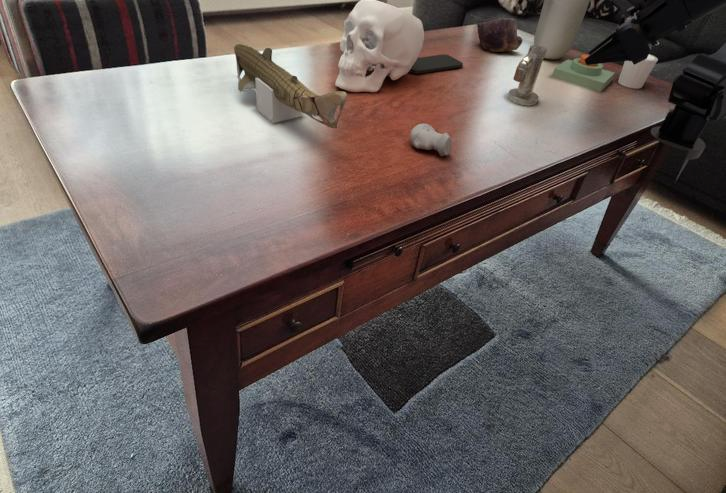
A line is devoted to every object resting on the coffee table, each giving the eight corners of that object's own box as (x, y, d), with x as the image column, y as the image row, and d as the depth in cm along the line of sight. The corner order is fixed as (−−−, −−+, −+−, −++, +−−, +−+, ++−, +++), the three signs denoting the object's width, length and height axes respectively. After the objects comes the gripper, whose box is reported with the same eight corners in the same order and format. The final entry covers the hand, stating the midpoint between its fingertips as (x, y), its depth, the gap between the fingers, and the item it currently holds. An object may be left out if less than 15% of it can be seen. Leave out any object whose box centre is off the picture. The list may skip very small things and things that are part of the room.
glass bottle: (544, 49, 134) (582, -69, 117) (574, 62, 128) (619, -61, 110) (521, 53, 130) (557, -69, 112) (551, 66, 124) (594, -61, 106)
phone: (397, 60, 114) (446, 53, 121) (396, 63, 115) (445, 57, 121) (415, 71, 109) (465, 64, 116) (414, 75, 110) (464, 67, 117)
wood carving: (317, 168, 75) (319, 100, 68) (220, 87, 95) (214, 27, 88) (362, 154, 80) (369, 89, 73) (261, 79, 100) (258, 23, 93)
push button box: (611, 81, 119) (618, 65, 116) (600, 92, 113) (607, 75, 110) (564, 67, 124) (570, 51, 121) (551, 77, 117) (557, 60, 115)
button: (597, 65, 116) (600, 57, 115) (593, 68, 114) (596, 61, 113) (581, 60, 118) (584, 53, 117) (576, 64, 115) (579, 56, 114)
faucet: (541, 100, 105) (555, 57, 100) (530, 108, 101) (544, 64, 95) (514, 91, 108) (526, 49, 102) (502, 98, 104) (515, 55, 98)
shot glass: (623, 77, 122) (635, 49, 118) (649, 86, 119) (663, 57, 114) (610, 81, 119) (622, 53, 114) (636, 91, 115) (650, 62, 110)
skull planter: (307, 72, 100) (343, -22, 94) (362, 96, 116) (396, 17, 111) (353, 95, 93) (395, -5, 88) (405, 117, 109) (443, 34, 104)
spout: (527, 59, 101) (533, 41, 99) (543, 63, 100) (549, 45, 98) (509, 79, 91) (514, 59, 89) (526, 84, 90) (532, 64, 88)
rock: (487, 46, 136) (465, 50, 130) (492, 13, 132) (469, 16, 126) (523, 52, 129) (501, 57, 123) (529, 17, 124) (507, 20, 118)
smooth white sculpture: (403, 148, 85) (424, 134, 87) (434, 168, 80) (456, 152, 82) (400, 128, 82) (423, 114, 83) (433, 147, 77) (456, 132, 79)
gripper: (667, -49, 81) (576, 8, 91) (662, -36, 67) (557, 29, 78) (693, 11, 83) (601, 60, 94) (694, 35, 70) (587, 89, 81)
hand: (587, 58), depth 86 cm, fingers open, 5 cm apart
